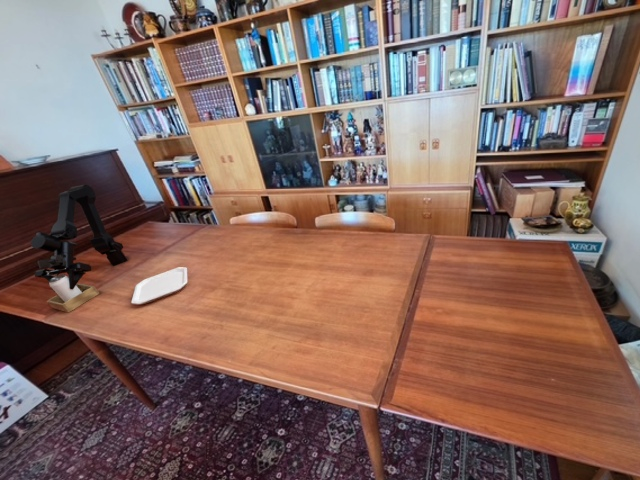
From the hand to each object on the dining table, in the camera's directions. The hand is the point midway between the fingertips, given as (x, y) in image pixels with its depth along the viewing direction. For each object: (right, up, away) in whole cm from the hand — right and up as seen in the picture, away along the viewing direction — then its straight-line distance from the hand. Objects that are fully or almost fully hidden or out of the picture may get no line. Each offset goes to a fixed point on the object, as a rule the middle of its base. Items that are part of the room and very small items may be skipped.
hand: (63, 290), depth 122 cm
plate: (+40, +1, +2) cm, 40 cm away
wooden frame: (+1, -5, +5) cm, 7 cm away
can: (+1, -5, +5) cm, 7 cm away
